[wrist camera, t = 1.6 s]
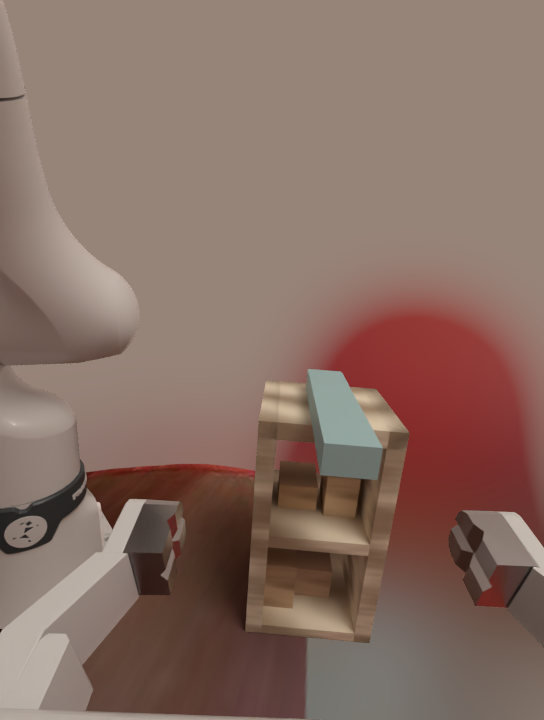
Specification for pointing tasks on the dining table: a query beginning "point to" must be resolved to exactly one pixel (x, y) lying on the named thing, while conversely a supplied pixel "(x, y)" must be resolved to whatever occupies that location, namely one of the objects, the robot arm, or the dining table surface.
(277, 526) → the rack
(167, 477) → the dining table surface
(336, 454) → the plank
